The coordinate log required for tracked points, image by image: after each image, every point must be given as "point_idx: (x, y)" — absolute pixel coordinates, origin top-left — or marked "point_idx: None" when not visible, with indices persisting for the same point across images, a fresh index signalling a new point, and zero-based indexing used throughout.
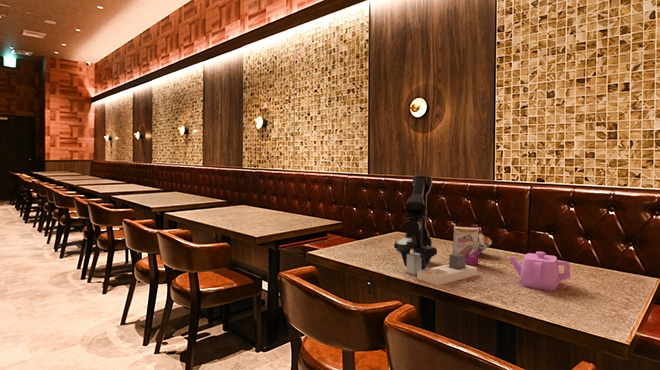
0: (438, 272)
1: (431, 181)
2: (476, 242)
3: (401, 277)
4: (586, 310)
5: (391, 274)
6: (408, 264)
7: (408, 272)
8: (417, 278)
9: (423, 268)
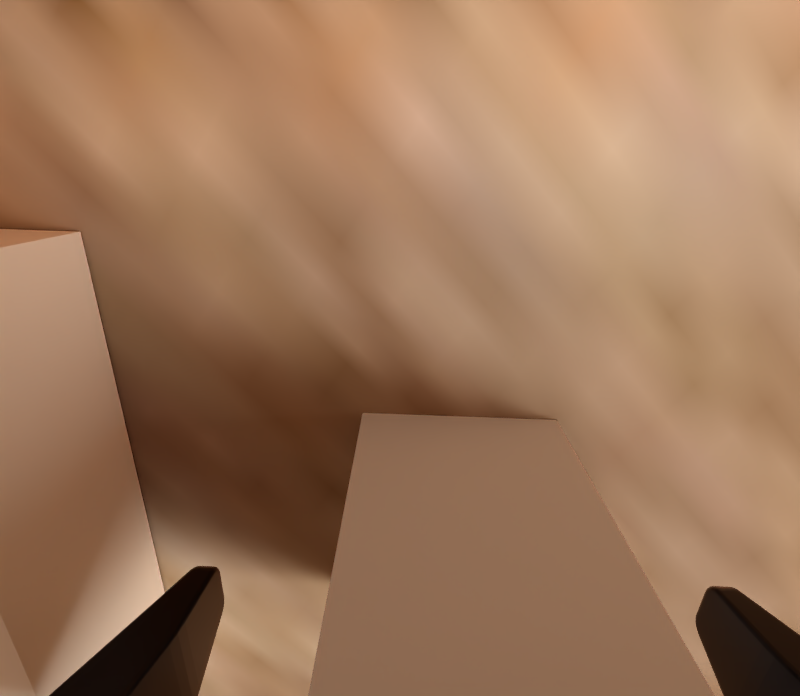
0: None
1: None
2: None
3: (419, 80)
4: None
5: (769, 66)
6: (568, 582)
7: (507, 434)
8: (40, 237)
9: (142, 632)
